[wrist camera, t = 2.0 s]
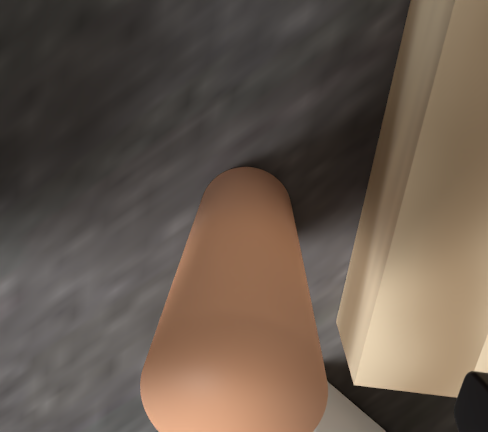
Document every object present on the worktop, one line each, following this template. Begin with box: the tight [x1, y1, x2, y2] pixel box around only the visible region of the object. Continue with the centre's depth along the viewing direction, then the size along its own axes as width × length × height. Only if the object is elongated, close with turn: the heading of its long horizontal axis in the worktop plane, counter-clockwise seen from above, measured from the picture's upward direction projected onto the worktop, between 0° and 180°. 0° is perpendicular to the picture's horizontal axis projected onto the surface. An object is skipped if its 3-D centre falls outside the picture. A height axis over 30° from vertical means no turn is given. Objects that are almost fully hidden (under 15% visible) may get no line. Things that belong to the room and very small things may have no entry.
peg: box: [140, 167, 328, 432], centre depth 12 cm, size 3×3×9 cm
